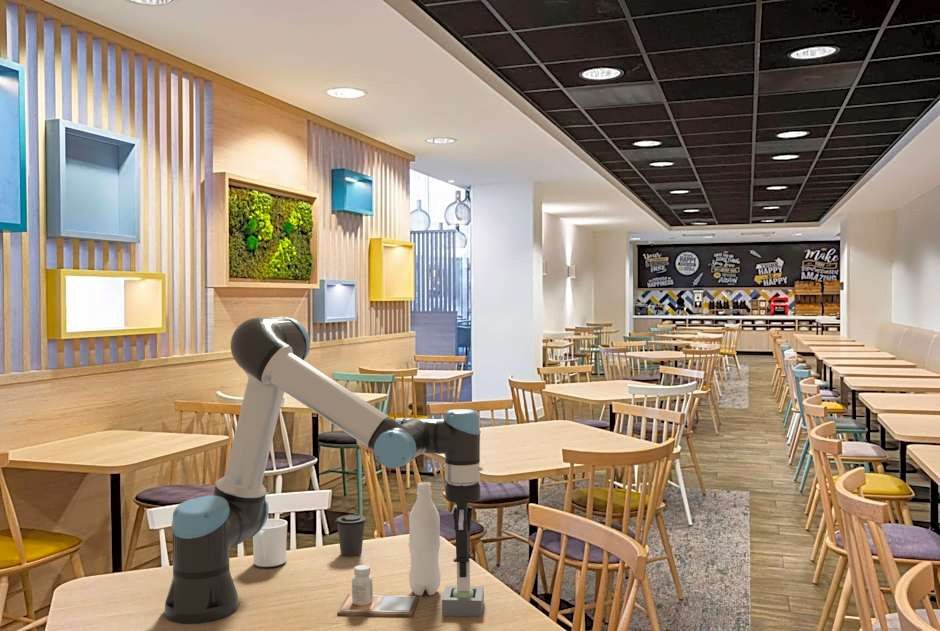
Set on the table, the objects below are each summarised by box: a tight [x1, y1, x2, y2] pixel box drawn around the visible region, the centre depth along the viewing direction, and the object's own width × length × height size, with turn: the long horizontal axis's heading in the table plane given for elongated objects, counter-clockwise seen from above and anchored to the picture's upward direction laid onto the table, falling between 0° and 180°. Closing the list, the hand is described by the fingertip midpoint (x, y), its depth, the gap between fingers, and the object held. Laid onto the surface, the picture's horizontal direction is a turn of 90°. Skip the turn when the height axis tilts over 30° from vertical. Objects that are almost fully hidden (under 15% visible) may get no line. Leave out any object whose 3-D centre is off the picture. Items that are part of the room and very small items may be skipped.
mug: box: [252, 518, 288, 570], centre depth 207 cm, size 11×9×10 cm
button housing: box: [441, 585, 485, 618], centre depth 178 cm, size 8×8×3 cm
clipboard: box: [336, 594, 419, 618], centre depth 179 cm, size 16×10×1 cm, turn 86°
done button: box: [453, 589, 473, 598], centre depth 177 cm, size 4×4×3 cm
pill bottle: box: [351, 564, 374, 606], centre depth 179 cm, size 4×4×8 cm
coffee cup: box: [334, 514, 367, 558], centre depth 216 cm, size 8×8×10 cm
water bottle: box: [408, 481, 441, 597], centre depth 187 cm, size 7×7×25 cm
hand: (463, 590), depth 177 cm, fingers closed
